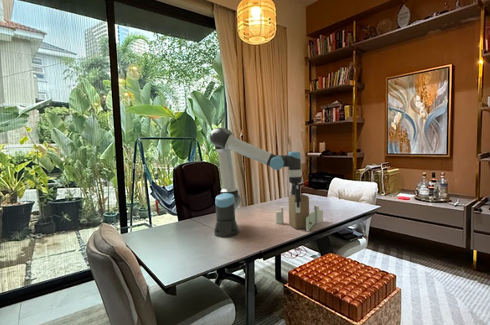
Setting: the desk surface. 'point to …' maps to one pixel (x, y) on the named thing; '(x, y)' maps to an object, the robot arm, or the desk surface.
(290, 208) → the wooden block
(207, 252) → the desk surface
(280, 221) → the l-shaped block
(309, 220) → the door
